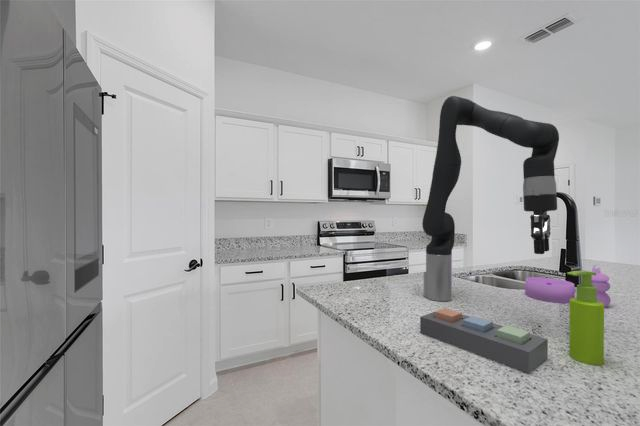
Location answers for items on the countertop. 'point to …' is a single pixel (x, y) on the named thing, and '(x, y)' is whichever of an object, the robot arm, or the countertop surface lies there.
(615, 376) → the countertop surface
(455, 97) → the robot arm
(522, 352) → the button panel
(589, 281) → the soap dispenser
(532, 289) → the container set
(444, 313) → the terracotta button
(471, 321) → the slate blue button
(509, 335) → the sage green button
